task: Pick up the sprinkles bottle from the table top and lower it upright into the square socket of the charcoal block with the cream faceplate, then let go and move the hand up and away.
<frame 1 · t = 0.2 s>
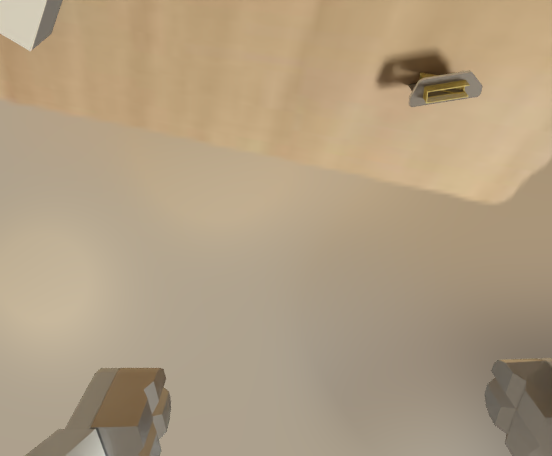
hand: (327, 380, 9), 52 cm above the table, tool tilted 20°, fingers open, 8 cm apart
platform: (434, 73, 57), on the table
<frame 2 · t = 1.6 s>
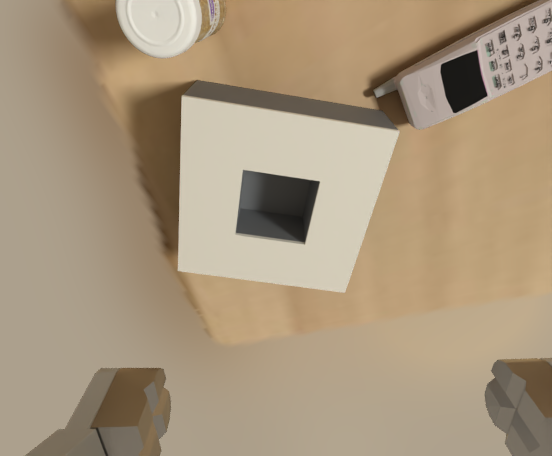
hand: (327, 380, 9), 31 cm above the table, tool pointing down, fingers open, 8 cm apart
socket block: (276, 180, 41), on the table
sprinkles bottle: (200, 6, 32), on the table
mobile phone: (512, 43, 34), on the table
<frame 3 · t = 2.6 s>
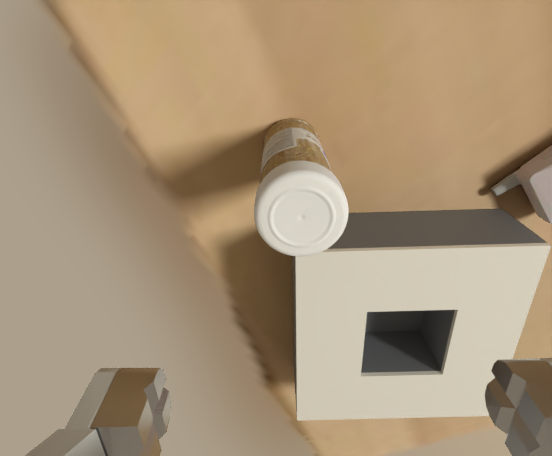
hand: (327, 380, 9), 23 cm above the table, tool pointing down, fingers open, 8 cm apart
socket block: (386, 296, 36), on the table
sprinkles bottle: (290, 145, 30), on the table
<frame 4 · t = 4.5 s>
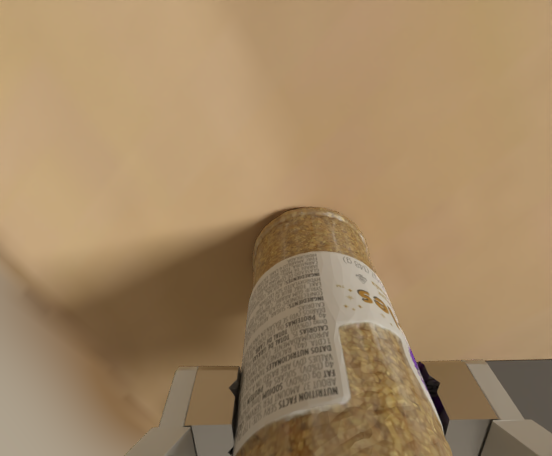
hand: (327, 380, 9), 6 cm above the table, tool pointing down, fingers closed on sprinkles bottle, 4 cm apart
sprinkles bottle: (307, 252, 15), on the table, touching gripper
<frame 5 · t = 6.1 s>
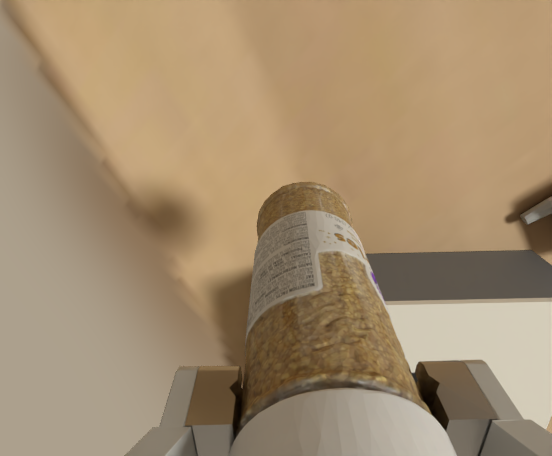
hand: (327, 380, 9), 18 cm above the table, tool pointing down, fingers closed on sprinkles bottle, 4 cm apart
socket block: (398, 345, 32), on the table
sprinkles bottle: (302, 220, 18), point 8 cm above the table, touching gripper
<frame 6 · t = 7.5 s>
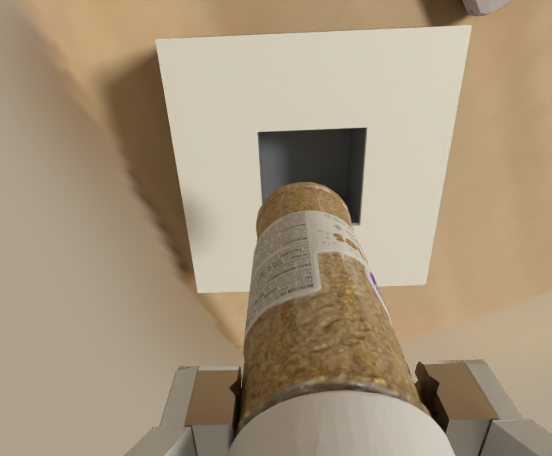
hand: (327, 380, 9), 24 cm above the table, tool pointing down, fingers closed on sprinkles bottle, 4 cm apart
socket block: (304, 154, 31), on the table
sprinkles bottle: (301, 220, 18), point 14 cm above the table, touching gripper
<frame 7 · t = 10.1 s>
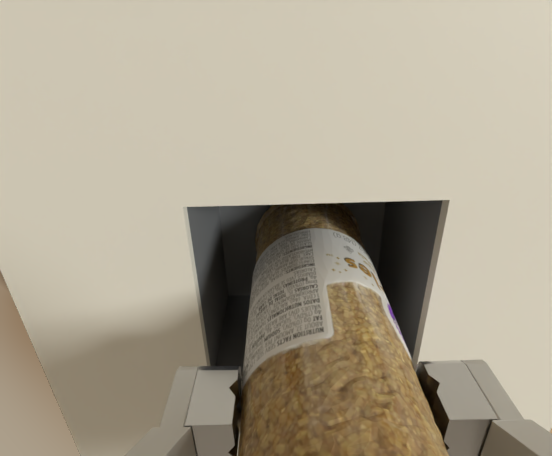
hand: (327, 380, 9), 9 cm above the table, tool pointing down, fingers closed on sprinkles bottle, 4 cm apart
socket block: (300, 218, 17), on the table
sprinkles bottle: (305, 234, 17), point 1 cm above the table, touching gripper, socket block
when the fingers open (8 cm above the table, at t = 10.6 s): sprinkles bottle stays where it is, resting on socket block.
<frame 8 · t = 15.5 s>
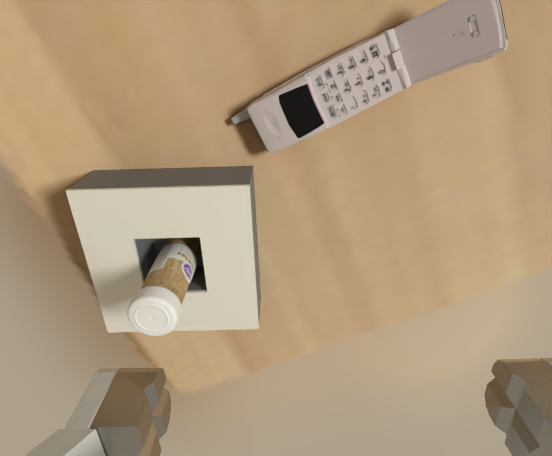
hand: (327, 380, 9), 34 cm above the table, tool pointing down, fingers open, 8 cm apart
socket block: (184, 238, 46), on the table
sprinkles bottle: (184, 244, 46), point 1 cm above the table, touching socket block
mobile phone: (349, 79, 39), on the table
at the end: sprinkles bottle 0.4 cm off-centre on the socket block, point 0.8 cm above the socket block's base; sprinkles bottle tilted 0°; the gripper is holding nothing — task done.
